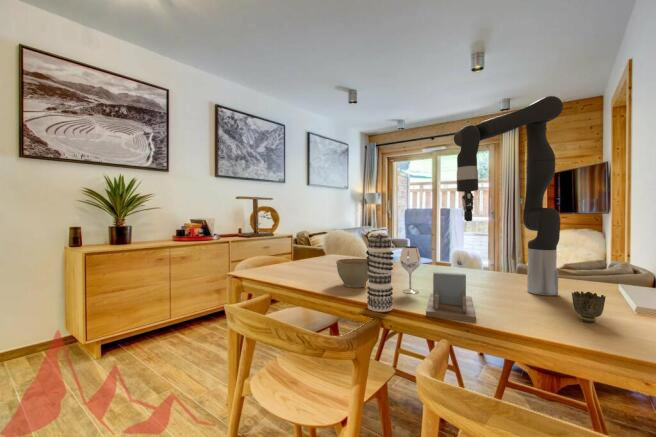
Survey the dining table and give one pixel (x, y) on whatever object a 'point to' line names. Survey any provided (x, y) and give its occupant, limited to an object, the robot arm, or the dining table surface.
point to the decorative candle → (379, 272)
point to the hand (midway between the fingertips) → (468, 220)
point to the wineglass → (410, 264)
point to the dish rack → (451, 309)
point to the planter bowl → (353, 272)
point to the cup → (588, 305)
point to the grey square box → (449, 287)
